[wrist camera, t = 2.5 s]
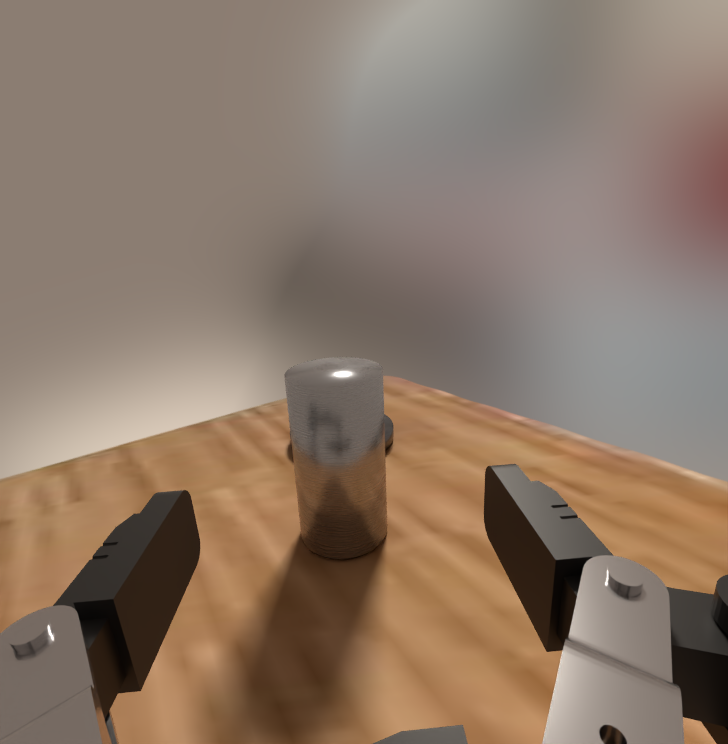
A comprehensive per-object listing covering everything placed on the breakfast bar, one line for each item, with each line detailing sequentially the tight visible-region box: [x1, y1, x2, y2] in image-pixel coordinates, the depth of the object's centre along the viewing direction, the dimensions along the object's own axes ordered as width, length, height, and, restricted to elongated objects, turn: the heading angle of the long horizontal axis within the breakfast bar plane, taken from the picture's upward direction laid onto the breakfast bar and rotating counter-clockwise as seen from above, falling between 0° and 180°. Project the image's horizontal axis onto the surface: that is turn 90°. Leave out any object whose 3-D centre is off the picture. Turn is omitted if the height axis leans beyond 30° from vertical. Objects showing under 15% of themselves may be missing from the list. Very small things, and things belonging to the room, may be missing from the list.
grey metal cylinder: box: [285, 357, 387, 559], centre depth 23 cm, size 5×5×10 cm
